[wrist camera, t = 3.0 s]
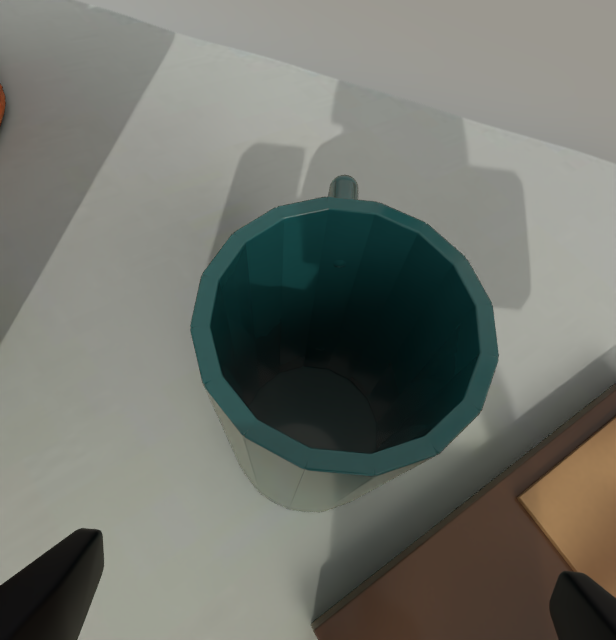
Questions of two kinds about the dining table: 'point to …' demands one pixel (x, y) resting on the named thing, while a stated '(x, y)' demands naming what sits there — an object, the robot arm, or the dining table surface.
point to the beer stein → (2, 103)
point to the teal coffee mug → (340, 346)
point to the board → (501, 548)
